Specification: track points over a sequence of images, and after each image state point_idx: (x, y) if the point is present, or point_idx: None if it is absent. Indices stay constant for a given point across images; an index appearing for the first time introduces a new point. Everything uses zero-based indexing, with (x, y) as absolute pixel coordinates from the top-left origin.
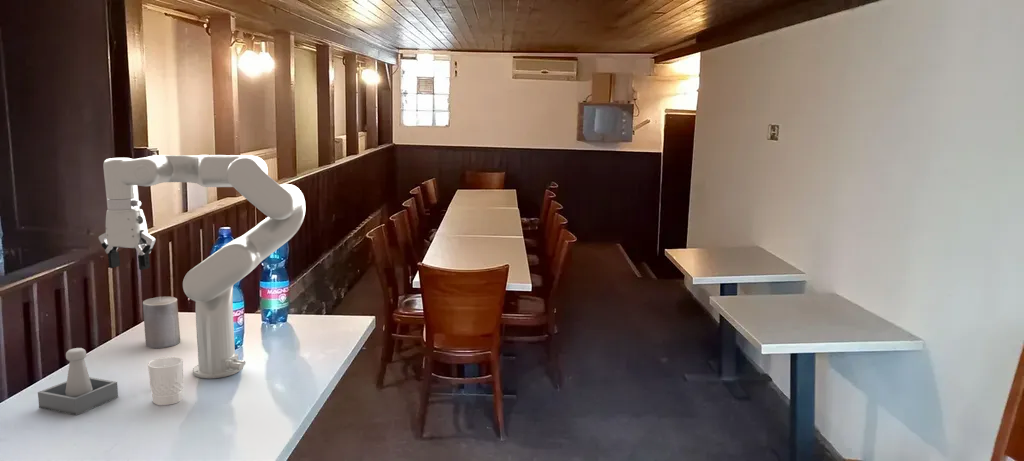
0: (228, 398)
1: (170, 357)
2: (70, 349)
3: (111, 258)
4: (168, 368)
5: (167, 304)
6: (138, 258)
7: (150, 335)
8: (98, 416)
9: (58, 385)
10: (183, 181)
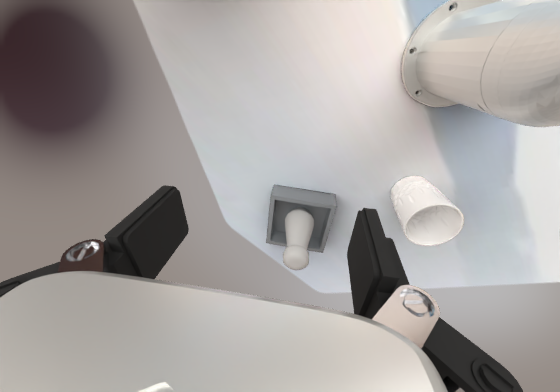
0: (506, 171)
1: (431, 205)
2: (285, 262)
3: (163, 263)
4: (445, 239)
5: None
6: (354, 305)
7: None
8: (347, 238)
9: (271, 225)
10: None
